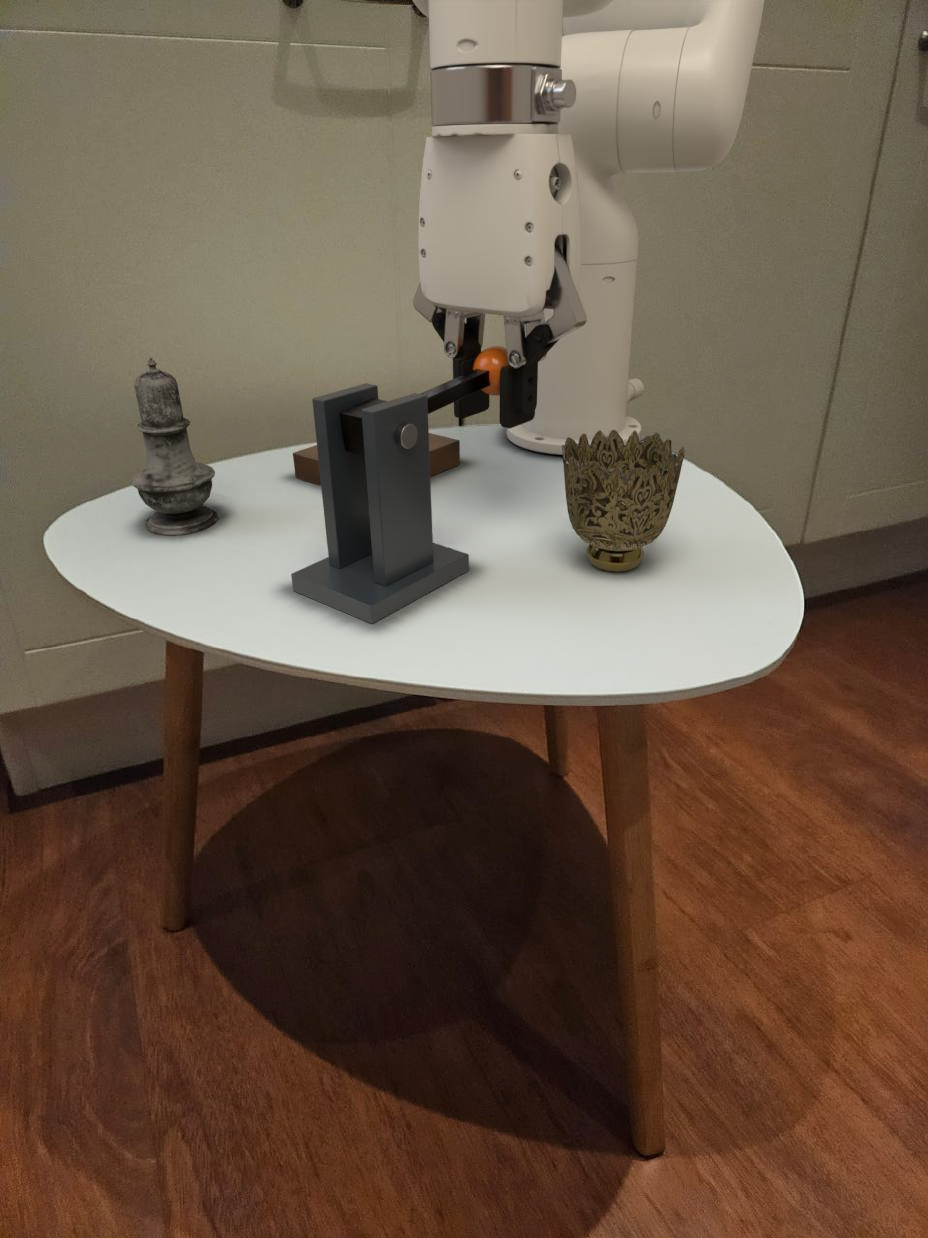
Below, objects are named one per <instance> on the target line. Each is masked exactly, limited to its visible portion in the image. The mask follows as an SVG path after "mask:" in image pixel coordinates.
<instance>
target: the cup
mask: <svg viewBox="0 0 928 1238" xmlns="http://www.w3.org/2000/svg"><path fill="white" fill-rule="evenodd" d="M606 437H607V438H606ZM606 437H605V435H604V434H603V433H602V431H600V430H599V431H598V432H597V433H596V434H595V435H594V437H593V439H592V441H591V444H590V445H589V443H590V442H589V443H588V439H587V435H586V434H585V433H583V434H582V435H581V436H580V439H579V444H577V443H576V442H575V441H574V440H573V439H572V438H569V437H568V438H567V439H566V441H565V445H562V454H563V455H562V462H563V477H564V491H565V503H566V509H567V514H568V518H569V522H570V524H571V528H572V529H573V530H574V532H575V533H576V535H577V536H578V537H579V538H580V539H581V540H582V541H583V542H585V543H586V544H588V545H587V547H586V555H587V558H588V561H589V562H590V563H591V565H592V566H594V567H596V568H598V569H601V570H604V571H608V572H625V571H629V570H632V569H635V568H636V567H638V566H639V565H640V563H641V561H642V560H643V558H644V555H645V551H644V547H647V546H648V545H650V544H652V543H653V542H654V541H655V540H657V539H658V538H659V536H660V535H661V534H662V532H663V531H664V530H665V528H666V525H667V524H668V521H669V518H670V515H671V512H672V509H673V505H674V502H675V497H676V492H677V488H678V484H679V479H680V475H681V472H682V468H683V462H684V458H685V453H686V452H685V447H683V446H682V447H681V448H680V449H679V450H678V452H677V453H673V449H672V444H673V443H672V439H671V438H667V439H666V440H663V438H662V435H661V434H660V433H659V432H652V433H650V435H646V436H645V437H644V438H643V439H640V440H639V436H638V434H637V431H636V430H634V431H633V432H632V433H631V435H630V436H629V438H628V441H627V443H626V445H624V441H623V439H622V438H621V437H620V435H619V434H618V432H617V431H616V430H612V431H611V432H610V434H609V436H606Z"/></svg>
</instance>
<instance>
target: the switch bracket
mask: <svg viewBox="0 0 928 1238" xmlns="http://www.w3.org/2000/svg"><path fill="white" fill-rule="evenodd" d="M371 398H375V399H379V387H378V385H377V384H372V383H368V382H367V383H366V382H365V383H362V384H358V385H354V386H350V387H348V388H344V389H339V390H337V391H333V392H329V393H327V394H323V395H320V396H315V397H313V398H311V401H312V409H313V419H314V431H315V438H316V439H315V440H316V445H317V450H318V460H319V469H320V479H321V485H320V487H321V496H322V497H321V498H322V505H323V506H322V507H323V517H324V525H325V527H324V528H325V533H326V534H325V535H326V537H325V538H326V544H327V545H326V547H327V554H328V555H327V556H328V557H325V558H323V559H321V560H319V561H317V562H314V563H312V564H310V565H308V566H306V567H304V568H301V569H299V570H296V571H294V572H292V573H290V574H291V575H290V576H291V585H292V591H293V592H295V593H298V594H299V595H303V596H304V597H308V598H309V599H312V600H314V601H317V602H320V603H321V604H324V605H326V606H328V607H331V608H334V609H336V610H338V611H340V612H343V613H345V614H348V615H350V616H353V617H354V618H357V619H360V620H362V621H364V622H366V623H369V624H374V623H376V622H378V621H381V620H382V619H383V618H385V617H388V616H389V615H391V614H393V613H394V612H396V611H398V610H400V609H402V608H403V607H405V606H407V605H409V604H411V603H413V602H415V601H416V600H418V599H420V598H421V597H424V596H425V595H428V594H429V593H430V592H431V593H432V592H433V591H435V590H437V589H438V588H440V587H442V586H444V585H446V584H447V583H449V582H451V581H453V580H455V579H457V578H458V577H460V576H463V574H465V573H467V572H469V571H470V558H469V557H470V554H469V553H466V552H463V551H460V550H457V549H454V548H451V547H448V546H444V545H442V544H439V543H435V542H434V536H433V511H432V490H431V489H432V486H431V476H430V455H429V433H430V431H429V430H430V429H429V414H428V402H427V395H422V394H420V393H418V392H417V393H416V392H414V393H411V394H407V395H404V396H401V397H398V398H394V399H391V400H386V401H387V402H384V403H381V404H378V405H374V406H371V407H368V408H365V409H362V410H361V412H362V425H363V438H364V451H365V456H362V455H358V454H355V453H351V452H347V451H345V447H344V440H343V434H342V427H341V421H340V414H339V412H341V411H343V410H345V409H348V408H350V407H352V406H355V405H357V404H360V403H362V402H364V401H367V400H369V399H371Z"/></svg>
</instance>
